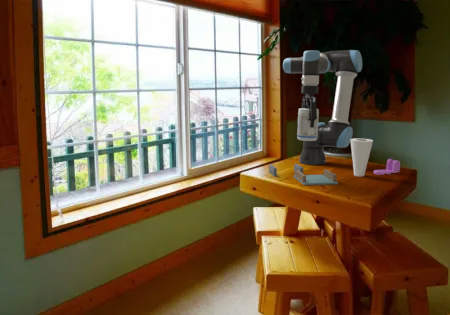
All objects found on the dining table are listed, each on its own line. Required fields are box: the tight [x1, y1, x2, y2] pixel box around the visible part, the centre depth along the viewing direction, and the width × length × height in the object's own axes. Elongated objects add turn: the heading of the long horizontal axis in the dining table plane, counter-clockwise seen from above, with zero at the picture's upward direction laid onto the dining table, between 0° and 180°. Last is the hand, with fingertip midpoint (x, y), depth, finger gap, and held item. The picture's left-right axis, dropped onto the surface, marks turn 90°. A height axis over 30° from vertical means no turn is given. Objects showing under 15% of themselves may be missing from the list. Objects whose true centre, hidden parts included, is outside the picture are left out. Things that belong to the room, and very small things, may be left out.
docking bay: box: [293, 169, 339, 186], centre depth 185 cm, size 16×16×4 cm
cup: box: [350, 138, 374, 178], centre depth 195 cm, size 11×11×18 cm
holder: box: [268, 163, 304, 177], centre depth 198 cm, size 15×10×4 cm, turn 98°
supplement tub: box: [296, 107, 320, 141], centre depth 184 cm, size 10×10×15 cm
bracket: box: [373, 158, 401, 176], centre depth 202 cm, size 13×6×7 cm, turn 108°
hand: (307, 133), depth 185 cm, fingers closed on supplement tub, 10 cm apart
